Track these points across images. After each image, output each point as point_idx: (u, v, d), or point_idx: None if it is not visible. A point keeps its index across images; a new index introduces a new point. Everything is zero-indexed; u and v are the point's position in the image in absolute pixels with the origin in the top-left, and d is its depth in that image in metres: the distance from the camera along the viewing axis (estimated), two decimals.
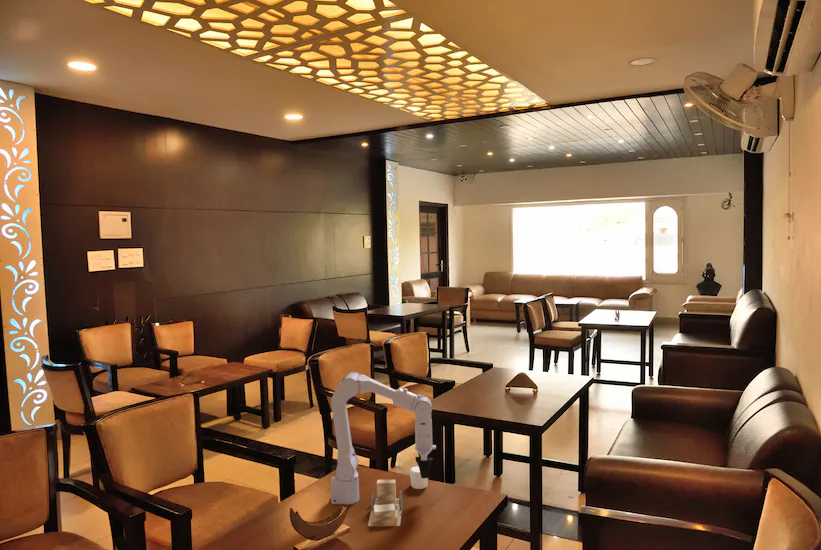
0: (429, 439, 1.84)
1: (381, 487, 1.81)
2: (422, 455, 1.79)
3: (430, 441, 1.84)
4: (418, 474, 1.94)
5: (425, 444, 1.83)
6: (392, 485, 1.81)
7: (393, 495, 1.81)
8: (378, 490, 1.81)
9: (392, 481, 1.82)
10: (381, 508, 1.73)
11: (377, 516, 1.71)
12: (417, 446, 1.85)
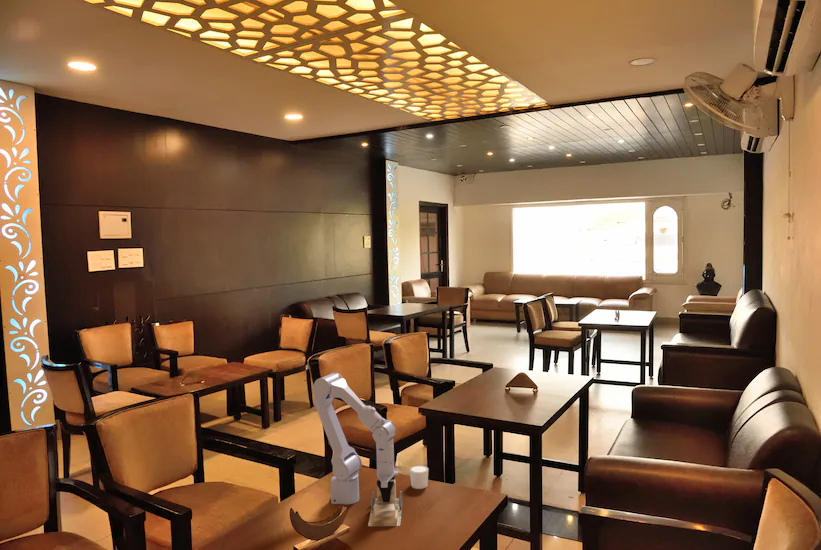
0: (390, 465, 1.80)
1: None
2: (382, 482, 1.75)
3: (391, 467, 1.80)
4: (418, 474, 1.94)
5: (386, 470, 1.79)
6: None
7: (393, 495, 1.81)
8: (378, 490, 1.81)
9: None
10: (381, 508, 1.73)
11: (377, 516, 1.71)
12: (378, 472, 1.81)
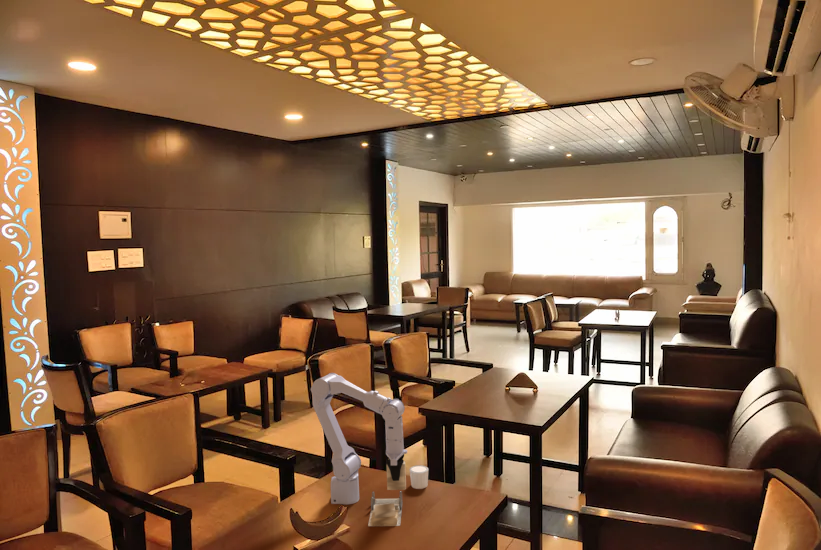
0: (400, 443, 1.79)
1: None
2: (392, 460, 1.75)
3: (401, 445, 1.80)
4: (418, 474, 1.94)
5: (396, 448, 1.79)
6: (401, 466, 1.81)
7: (403, 476, 1.81)
8: (388, 471, 1.81)
9: None
10: (381, 508, 1.73)
11: (377, 516, 1.71)
12: (388, 451, 1.80)
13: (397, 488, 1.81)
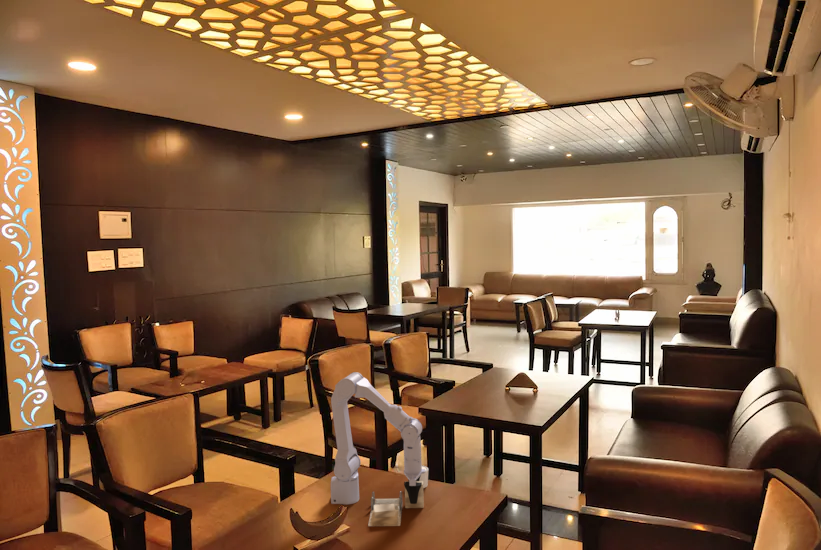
0: (418, 463, 1.80)
1: None
2: (411, 480, 1.75)
3: (419, 465, 1.80)
4: None
5: (414, 468, 1.79)
6: None
7: (421, 497, 1.81)
8: (406, 492, 1.81)
9: None
10: (381, 508, 1.73)
11: (377, 516, 1.71)
12: (406, 470, 1.80)
13: None
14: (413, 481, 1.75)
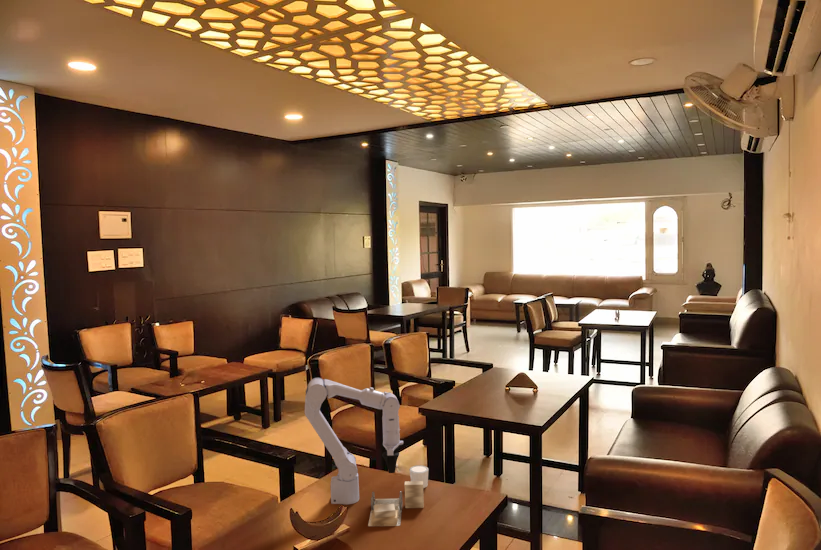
0: (396, 435, 1.88)
1: (409, 488, 1.81)
2: (388, 450, 1.83)
3: (397, 437, 1.88)
4: (418, 474, 1.94)
5: (392, 439, 1.87)
6: (420, 486, 1.81)
7: (421, 497, 1.81)
8: (406, 492, 1.81)
9: (420, 483, 1.82)
10: (381, 508, 1.73)
11: (377, 516, 1.71)
12: (384, 442, 1.89)
13: None
14: (391, 451, 1.83)
